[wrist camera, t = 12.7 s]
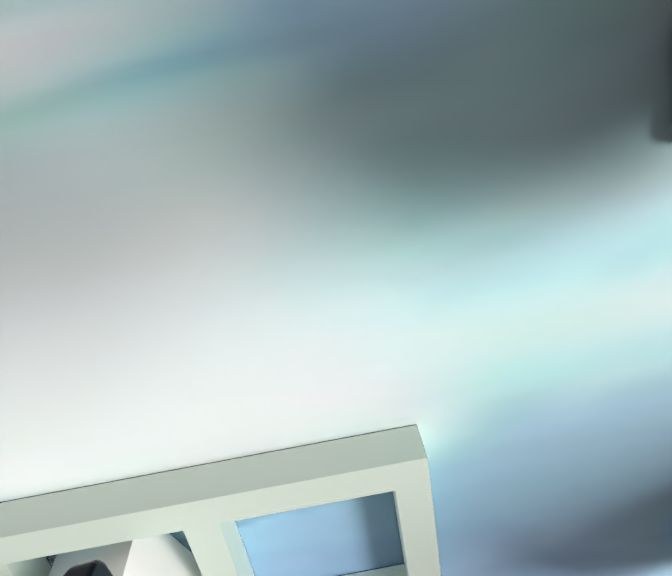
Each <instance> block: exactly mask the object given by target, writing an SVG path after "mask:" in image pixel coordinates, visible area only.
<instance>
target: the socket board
mask: <svg viewBox="0 0 672 576" xmlns="http://www.w3.org/2000/svg"><path fill="white" fill-rule="evenodd" d="M391 491H393V496H394V502H395V508H396V514H397V521H398V527H399V533H400V539H401V546H402V552H403V558H404V564H401V565H396V566H390V567H385V568H380V569H375V570H369V571H364V572H359V573H353V574H348V575H343V576H441V570H440V561H439V553H438V544H437V535H436V526H435V518H434V509H433V500H432V492H431V483H430V474H429V465H428V457H427V454H426V451H425V448H424V445H423V442H422V439H421V436H420V433H419V430H418V427H417V425H413V426H407V427H402V428H397V429H391V430H386V431H381V432H375V433H370V434H365V435H359V436H354V437H349V438H343V439H338V440H333V441H327V442H322V443H317V444H311V445H306V446H301V447H295V448H290V449H285V450H279V451H274V452H269V453H263V454H258V455H252V456H247V457H242V458H236V459H231V460H226V461H220V462H215V463H210V464H204V465H199V466H194V467H188V468H183V469H178V470H172V471H167V472H162V473H156V474H151V475H146V476H140V477H135V478H130V479H124V480H119V481H114V482H108V483H103V484H98V485H92V486H87V487H82V488H76V489H71V490H66V491H60V492H55V493H50V494H44V495H39V496H34V497H28V498H23V499H18V500H12V501H7V502H2V503H0V576H48V575H49V573H50V570H51V568H52V567H51V565H50V564H49V562H48V560H47V559H46V557H45V556H51V555H56V554H61V553H67V552H72V551H77V550H82V549H88V548H93V547H98V546H104V545H109V544H114V543H120V542H125V541H130V540H136V539H141V538H146V537H152V536H157V535H162V534H168V533H173V532H178V531H184V534H185V536H186V538H187V541H188V543H189V546H190V548H191V550H192V553H193V555H194V557H195V560H196V562H197V564H198V567H199V569H200V571H201V574H202V576H255V575H254V572H253V570H252V567H251V564H250V561H249V558H248V556H247V553H246V550H245V547H244V544H243V542H242V539H241V536H240V533H239V530H238V528H237V525H236V522H235V521H237V520H242V519H247V518H253V517H258V516H263V515H269V514H274V513H279V512H285V511H290V510H295V509H301V508H306V507H311V506H317V505H322V504H327V503H333V502H338V501H343V500H349V499H354V498H359V497H365V496H370V495H375V494H380V493H386V492H391Z"/></svg>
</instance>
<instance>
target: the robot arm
mask: <svg viewBox="0 0 672 576" xmlns="http://www.w3.org/2000/svg"><path fill="white" fill-rule="evenodd" d="M63 576H113V575H112V573H111V572H110V570H109V569H108V567H107V565H106V564H105V563H104V562H103V561H101V560H92V561H88V562H84V563H80V564H76V565H74V566H72V567H71V568H69V569H68V570H67V571H66V573H65V574H64V575H63Z"/></svg>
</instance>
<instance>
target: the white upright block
mask: <svg viewBox="0 0 672 576" xmlns="http://www.w3.org/2000/svg"><path fill="white" fill-rule="evenodd" d="M92 560H101V561H103V562H104V563H105V564H106V565H107V567H108V569H109V570H110V572H111V573H112V575H113V576H202V574H201V571H200V569H199V567H198V564H197V562H196V560H195V557H194V555H193V553H192V552H190V551H189V550H188V549H187V548H186V547H185V546H183V545H182V544H181V543H180V542H179V541H178V540H176V539H175V538H174V537H173V536H172V535H171V534H169V533H168V534H162V535H157V536H152V537H146V538H141V539H136V540H130V541H125V542H120V543H114V544H109V545H104V546H98V547H93V548H88V549H82V550H77V551H72V552H67V553H61V554H58V555H57V556H56V558H55V560H54V563H53V565H52V568H51V570H50V573H49V575H48V576H63V575H64V574H65V573H66V571H67V570H68V569H69V568H71V567H72V566H74V565H76V564H80V563H84V562H88V561H92Z"/></svg>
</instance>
